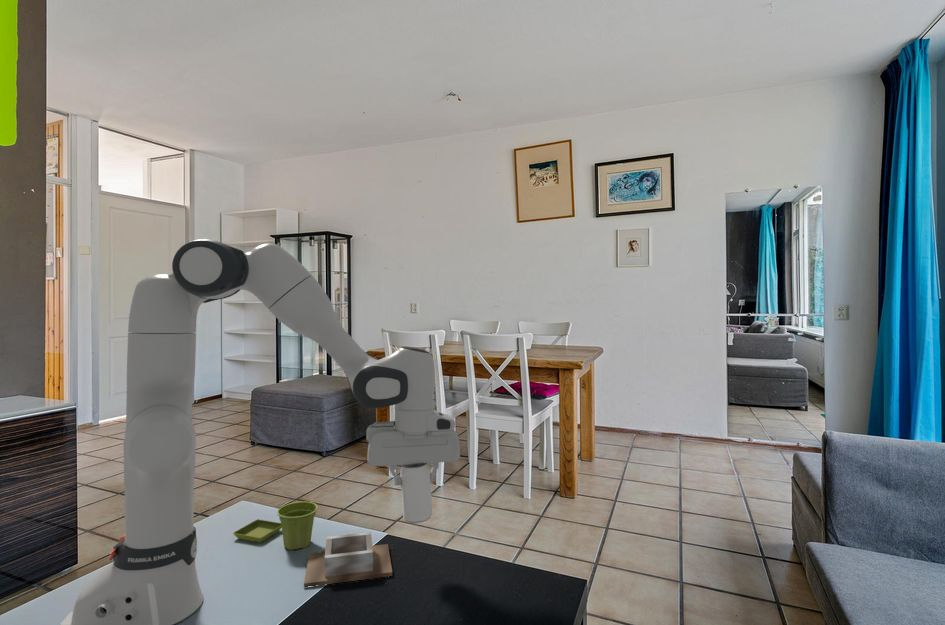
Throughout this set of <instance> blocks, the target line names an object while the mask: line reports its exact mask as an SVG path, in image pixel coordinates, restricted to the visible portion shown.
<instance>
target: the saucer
mask: <svg viewBox="0 0 945 625" xmlns="http://www.w3.org/2000/svg"><path fill="white" fill-rule="evenodd" d="M280 530H282V526H281V522H276V521H272V520H270V521H269V520H264V519H256V520H255V519H254V520H253V521H252V522H250V523H248V524H246V525H245V526H243V527H240V528H239V529H237V530H236V531H234V532H233V533H232V534H233V535H234V536H235V537H236V539H239V540H242V541H243V540H244V541H250V542H255V543H256V542H257V543H262V542H264V541H265V540H267V539H268V538H270V537H272V536H273V535H275V534H276V533H278V532H279V531H280Z"/></svg>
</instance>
